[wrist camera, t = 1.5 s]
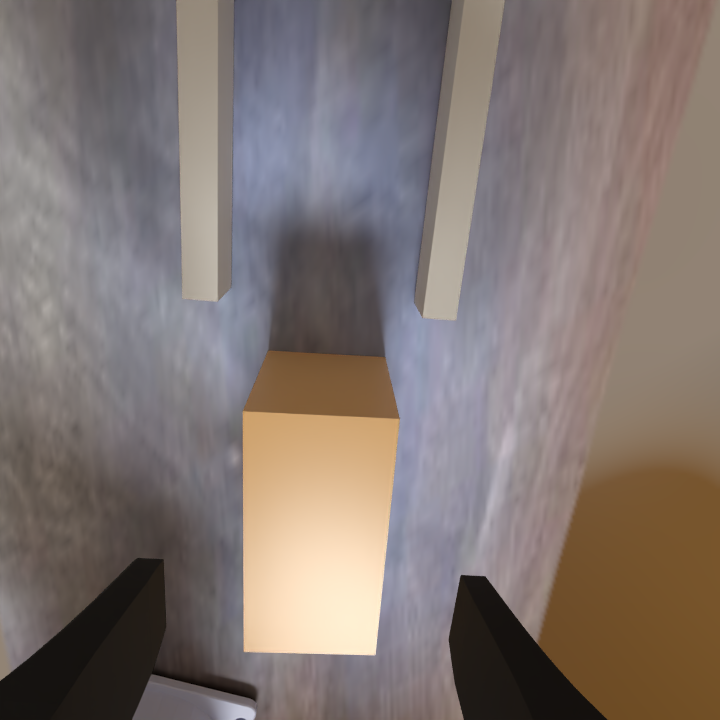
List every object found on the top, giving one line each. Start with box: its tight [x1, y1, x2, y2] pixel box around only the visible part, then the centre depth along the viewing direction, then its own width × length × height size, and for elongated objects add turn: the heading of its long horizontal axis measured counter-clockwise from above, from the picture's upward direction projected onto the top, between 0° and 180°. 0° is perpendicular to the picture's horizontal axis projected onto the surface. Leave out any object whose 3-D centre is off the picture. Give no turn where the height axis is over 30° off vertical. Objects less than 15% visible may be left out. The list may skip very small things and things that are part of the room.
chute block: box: [243, 351, 400, 655], centre depth 17 cm, size 8×4×5 cm, turn 176°
